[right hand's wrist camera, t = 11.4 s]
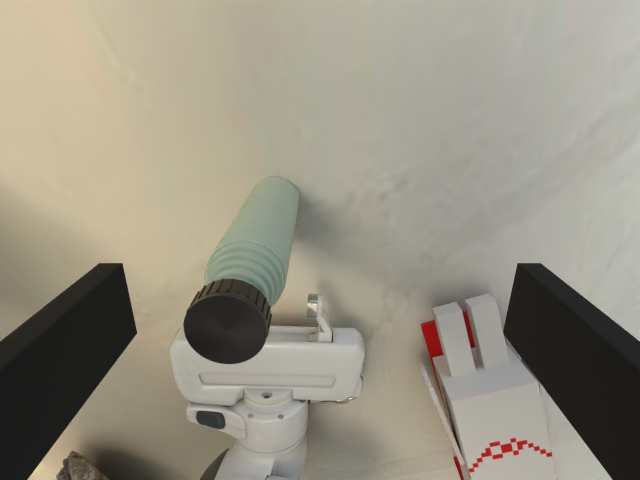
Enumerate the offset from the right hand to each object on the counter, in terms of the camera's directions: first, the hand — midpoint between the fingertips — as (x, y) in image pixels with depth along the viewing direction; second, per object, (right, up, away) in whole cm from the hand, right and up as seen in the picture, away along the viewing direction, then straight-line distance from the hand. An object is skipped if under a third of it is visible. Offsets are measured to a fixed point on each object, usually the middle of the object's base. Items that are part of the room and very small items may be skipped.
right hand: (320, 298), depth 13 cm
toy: (+20, -17, +37) cm, 45 cm away
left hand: (-5, -4, +25) cm, 26 cm away
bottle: (-5, +6, +28) cm, 29 cm away
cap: (-5, -2, +6) cm, 8 cm away
